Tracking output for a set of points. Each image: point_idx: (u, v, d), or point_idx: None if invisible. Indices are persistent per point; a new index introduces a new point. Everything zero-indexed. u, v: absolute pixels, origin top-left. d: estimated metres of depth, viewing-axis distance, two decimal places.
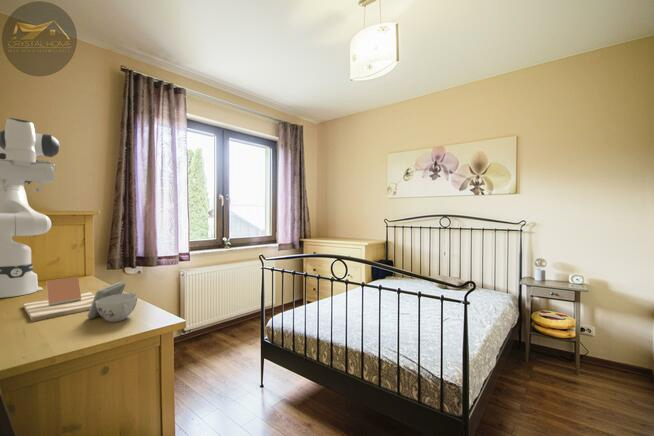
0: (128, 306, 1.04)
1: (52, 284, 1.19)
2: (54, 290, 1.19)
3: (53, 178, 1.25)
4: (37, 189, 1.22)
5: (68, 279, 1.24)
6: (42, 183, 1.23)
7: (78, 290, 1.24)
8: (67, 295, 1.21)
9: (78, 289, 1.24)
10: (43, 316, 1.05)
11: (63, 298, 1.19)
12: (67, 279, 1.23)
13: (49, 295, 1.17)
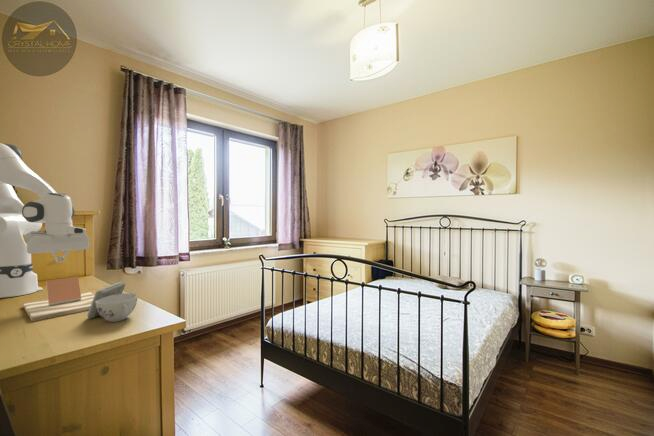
0: (128, 306, 1.04)
1: (52, 284, 1.19)
2: (54, 290, 1.19)
3: None
4: None
5: (68, 279, 1.24)
6: None
7: (78, 290, 1.24)
8: (67, 295, 1.21)
9: (78, 289, 1.24)
10: (43, 316, 1.05)
11: (63, 298, 1.19)
12: (67, 279, 1.23)
13: (49, 295, 1.17)
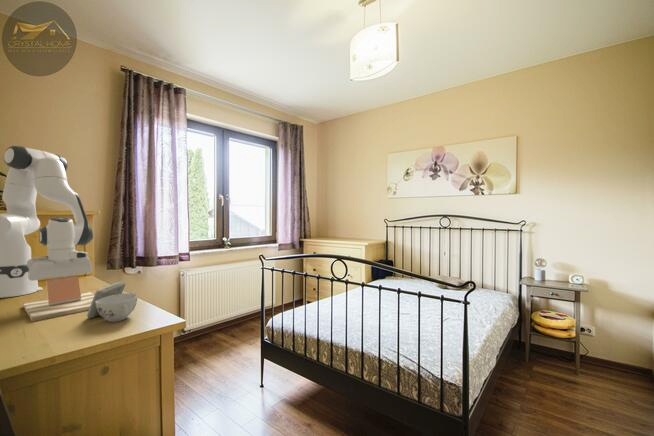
0: (128, 306, 1.04)
1: (52, 284, 1.19)
2: (54, 290, 1.19)
3: None
4: None
5: (68, 279, 1.24)
6: None
7: (78, 290, 1.24)
8: (67, 295, 1.21)
9: (78, 289, 1.24)
10: (43, 316, 1.05)
11: (63, 298, 1.19)
12: (67, 279, 1.23)
13: (49, 295, 1.17)
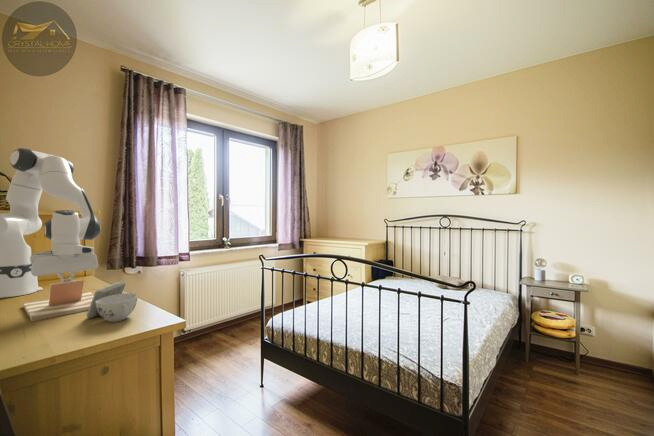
0: (128, 306, 1.04)
1: (56, 288, 1.14)
2: (56, 294, 1.16)
3: None
4: None
5: (73, 284, 1.18)
6: None
7: (80, 293, 1.22)
8: (68, 297, 1.19)
9: (80, 292, 1.22)
10: (43, 316, 1.05)
11: (64, 300, 1.19)
12: (72, 284, 1.18)
13: (51, 298, 1.15)
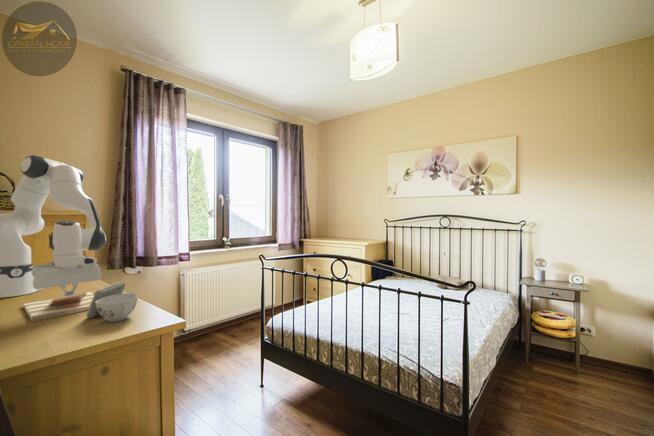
0: (128, 306, 1.04)
1: (57, 301, 1.12)
2: (58, 302, 1.14)
3: None
4: None
5: (75, 297, 1.16)
6: None
7: (81, 298, 1.21)
8: (69, 301, 1.19)
9: (81, 298, 1.21)
10: (43, 316, 1.05)
11: (64, 302, 1.19)
12: (74, 297, 1.15)
13: (51, 304, 1.14)
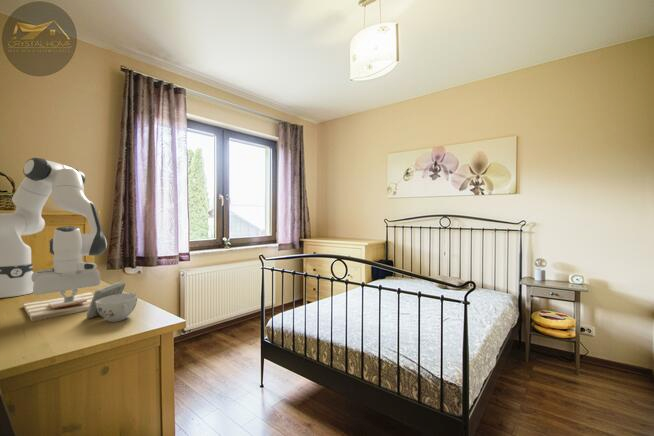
0: (128, 306, 1.04)
1: (58, 306, 1.12)
2: None
3: None
4: None
5: (76, 303, 1.16)
6: None
7: None
8: None
9: None
10: (43, 316, 1.05)
11: None
12: (75, 303, 1.15)
13: None
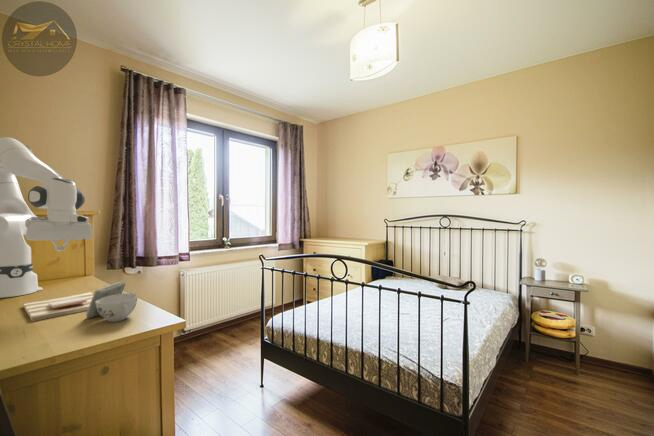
0: (128, 306, 1.04)
1: (58, 306, 1.12)
2: None
3: None
4: None
5: (76, 303, 1.16)
6: None
7: None
8: None
9: None
10: (43, 316, 1.05)
11: None
12: (75, 303, 1.15)
13: None
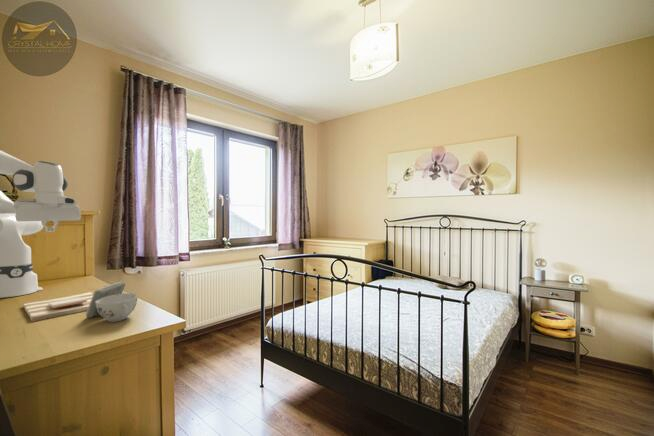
0: (128, 306, 1.04)
1: (58, 306, 1.12)
2: None
3: None
4: None
5: (76, 303, 1.16)
6: None
7: None
8: None
9: None
10: (43, 316, 1.05)
11: None
12: (75, 303, 1.15)
13: None
